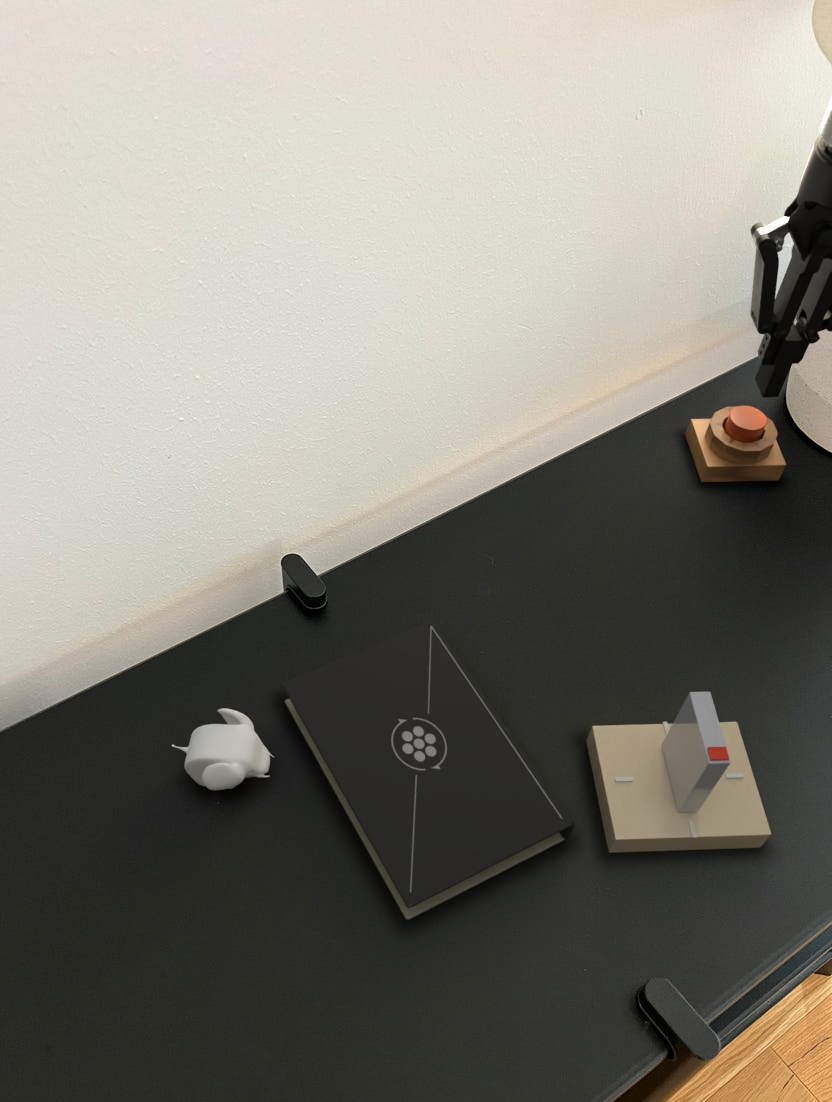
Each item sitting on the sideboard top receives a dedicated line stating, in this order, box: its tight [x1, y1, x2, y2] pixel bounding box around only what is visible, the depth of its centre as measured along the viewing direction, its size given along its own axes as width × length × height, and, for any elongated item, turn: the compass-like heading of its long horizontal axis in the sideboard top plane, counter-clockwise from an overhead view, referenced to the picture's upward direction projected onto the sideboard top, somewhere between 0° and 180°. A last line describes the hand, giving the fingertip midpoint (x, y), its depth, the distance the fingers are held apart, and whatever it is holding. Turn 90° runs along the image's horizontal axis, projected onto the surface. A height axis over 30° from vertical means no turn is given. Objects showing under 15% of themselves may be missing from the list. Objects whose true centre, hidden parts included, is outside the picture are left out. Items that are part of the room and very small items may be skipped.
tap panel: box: [585, 721, 772, 854], centre depth 78 cm, size 12×10×3 cm
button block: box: [684, 405, 787, 483], centre depth 100 cm, size 8×7×4 cm
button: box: [725, 405, 767, 443], centre depth 98 cm, size 4×4×2 cm
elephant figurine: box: [171, 707, 275, 791], centre depth 78 cm, size 7×8×6 cm
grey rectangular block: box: [662, 691, 731, 812], centre depth 74 cm, size 6×2×8 cm, turn 2°
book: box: [282, 620, 575, 922], centre depth 80 cm, size 22×15×3 cm
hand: (766, 387), depth 94 cm, fingers closed
